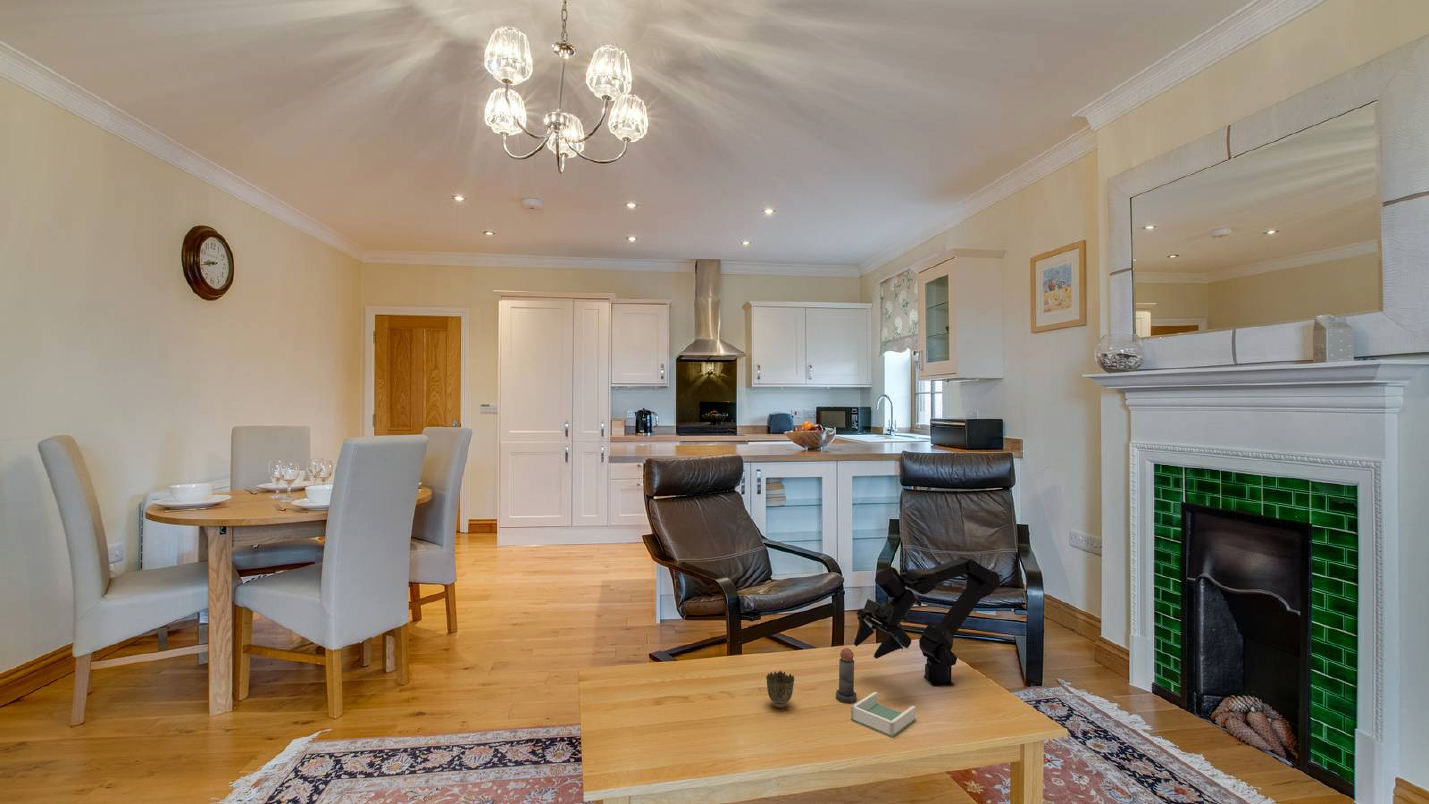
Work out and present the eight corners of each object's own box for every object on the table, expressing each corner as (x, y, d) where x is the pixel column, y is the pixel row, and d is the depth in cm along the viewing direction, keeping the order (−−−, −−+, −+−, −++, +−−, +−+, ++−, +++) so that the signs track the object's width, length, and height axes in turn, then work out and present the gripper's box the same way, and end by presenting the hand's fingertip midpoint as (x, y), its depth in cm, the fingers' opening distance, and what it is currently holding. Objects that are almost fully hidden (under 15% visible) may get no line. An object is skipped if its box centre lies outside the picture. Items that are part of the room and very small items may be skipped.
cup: (799, 706, 167) (799, 676, 167) (782, 716, 161) (783, 685, 161) (777, 697, 172) (777, 668, 172) (760, 706, 166) (760, 676, 166)
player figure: (852, 693, 175) (853, 644, 175) (859, 703, 169) (860, 652, 169) (833, 694, 174) (834, 644, 174) (839, 703, 169) (840, 652, 169)
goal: (874, 704, 169) (875, 691, 169) (915, 720, 161) (915, 706, 161) (850, 720, 160) (851, 706, 160) (892, 737, 152) (892, 723, 152)
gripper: (862, 580, 185) (829, 621, 181) (903, 599, 167) (868, 645, 163) (883, 604, 188) (851, 645, 183) (926, 625, 170) (892, 671, 166)
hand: (864, 651), depth 174 cm, fingers open, 9 cm apart
